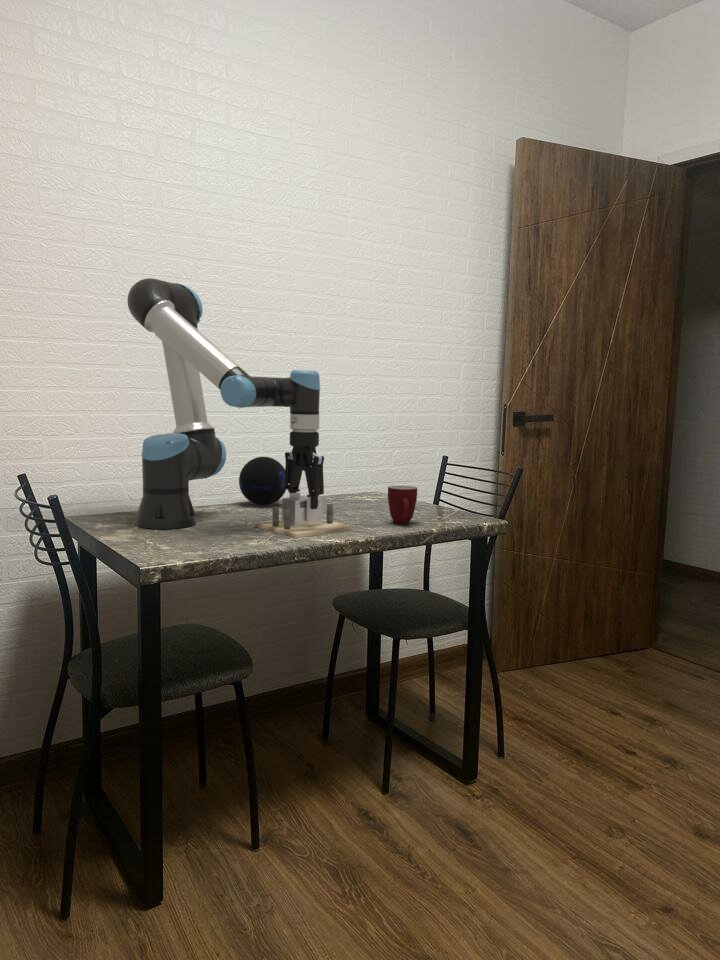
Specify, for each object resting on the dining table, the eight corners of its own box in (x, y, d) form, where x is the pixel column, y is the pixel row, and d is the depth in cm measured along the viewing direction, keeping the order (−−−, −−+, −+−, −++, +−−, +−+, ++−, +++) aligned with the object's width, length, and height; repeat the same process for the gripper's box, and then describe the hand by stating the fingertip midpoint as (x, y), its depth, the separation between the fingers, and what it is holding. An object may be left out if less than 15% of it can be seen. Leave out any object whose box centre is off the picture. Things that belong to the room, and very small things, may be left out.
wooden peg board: (254, 526, 192) (254, 503, 191) (308, 519, 204) (309, 498, 203) (296, 538, 179) (296, 513, 178) (351, 529, 191) (352, 507, 190)
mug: (423, 527, 197) (424, 490, 195) (394, 528, 195) (395, 490, 193) (410, 520, 207) (411, 485, 205) (383, 521, 205) (384, 485, 203)
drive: (282, 524, 190) (282, 498, 189) (309, 521, 196) (309, 495, 195) (295, 528, 186) (295, 500, 185) (322, 524, 192) (322, 497, 191)
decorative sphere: (288, 508, 221) (289, 459, 219) (238, 508, 219) (238, 458, 217) (286, 501, 236) (287, 454, 234) (239, 501, 234) (239, 454, 232)
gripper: (270, 428, 193) (269, 515, 196) (316, 433, 179) (314, 526, 181) (293, 428, 198) (292, 512, 201) (339, 432, 184) (338, 523, 186)
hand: (303, 519), depth 191 cm, fingers open, 6 cm apart
